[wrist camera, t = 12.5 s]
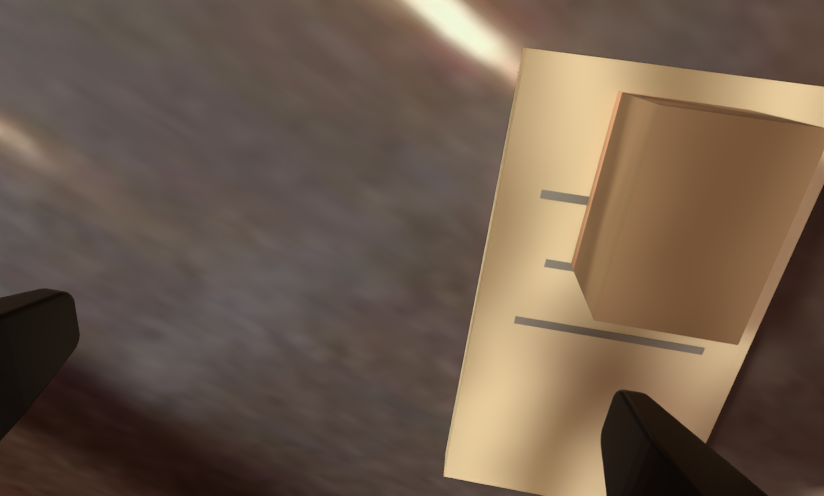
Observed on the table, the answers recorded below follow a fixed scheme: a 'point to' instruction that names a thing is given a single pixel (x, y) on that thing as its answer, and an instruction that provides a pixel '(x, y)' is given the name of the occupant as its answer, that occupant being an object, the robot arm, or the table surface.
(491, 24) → the table surface
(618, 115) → the block
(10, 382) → the robot arm
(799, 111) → the birch board
